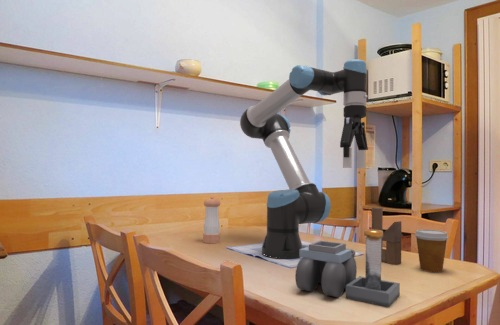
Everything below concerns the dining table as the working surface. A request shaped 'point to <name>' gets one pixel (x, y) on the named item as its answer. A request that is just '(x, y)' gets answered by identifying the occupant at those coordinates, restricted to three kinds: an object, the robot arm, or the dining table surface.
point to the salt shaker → (211, 221)
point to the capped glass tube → (373, 259)
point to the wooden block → (388, 237)
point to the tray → (373, 292)
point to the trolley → (325, 267)
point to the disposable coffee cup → (431, 249)
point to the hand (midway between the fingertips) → (354, 168)
